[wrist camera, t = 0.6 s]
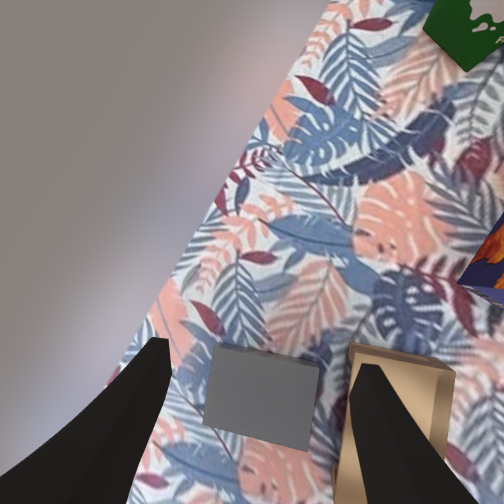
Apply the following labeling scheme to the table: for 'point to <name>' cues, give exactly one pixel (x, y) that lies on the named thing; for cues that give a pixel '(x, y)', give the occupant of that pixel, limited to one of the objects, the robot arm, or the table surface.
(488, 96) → the table surface
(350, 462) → the oak overhang shelf
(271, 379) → the slate tile
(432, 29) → the milk carton
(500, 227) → the cereal box
